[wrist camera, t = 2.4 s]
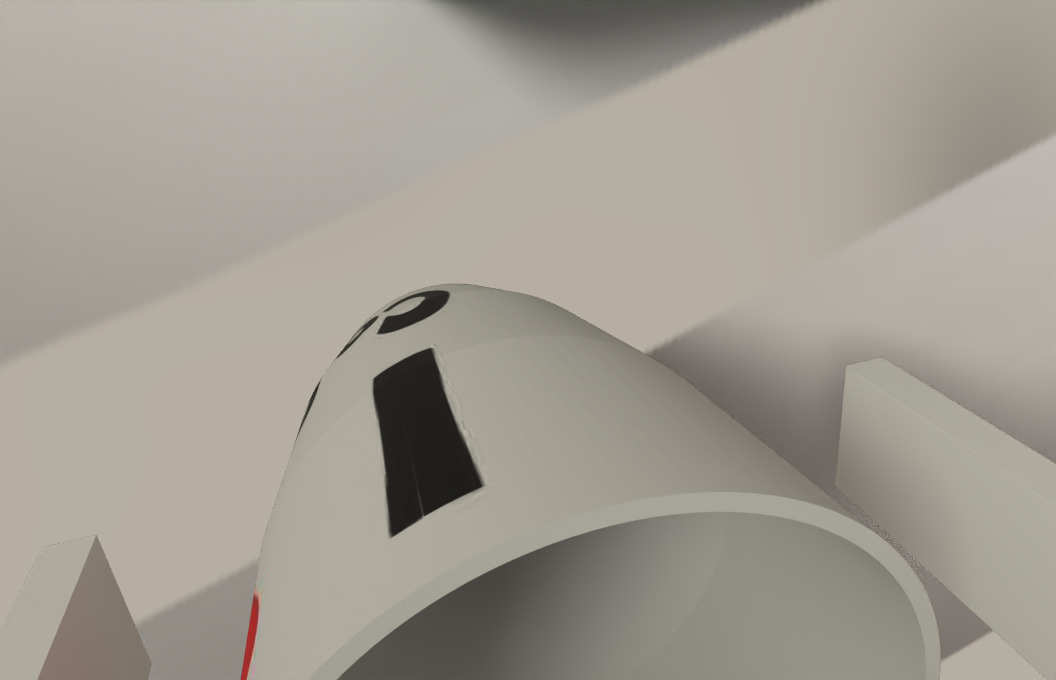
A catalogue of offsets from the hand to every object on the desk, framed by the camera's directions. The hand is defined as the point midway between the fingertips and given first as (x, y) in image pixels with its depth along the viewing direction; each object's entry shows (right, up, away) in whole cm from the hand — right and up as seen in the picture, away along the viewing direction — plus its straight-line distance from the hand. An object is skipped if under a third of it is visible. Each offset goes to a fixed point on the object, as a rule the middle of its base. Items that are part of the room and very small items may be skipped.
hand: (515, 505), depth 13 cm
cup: (-2, +2, +4) cm, 5 cm away
